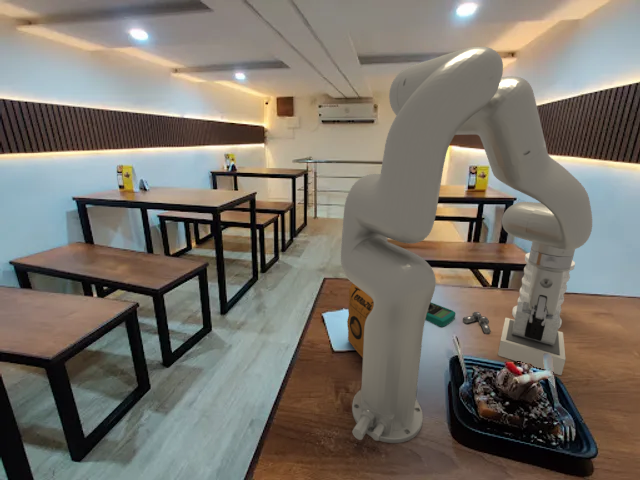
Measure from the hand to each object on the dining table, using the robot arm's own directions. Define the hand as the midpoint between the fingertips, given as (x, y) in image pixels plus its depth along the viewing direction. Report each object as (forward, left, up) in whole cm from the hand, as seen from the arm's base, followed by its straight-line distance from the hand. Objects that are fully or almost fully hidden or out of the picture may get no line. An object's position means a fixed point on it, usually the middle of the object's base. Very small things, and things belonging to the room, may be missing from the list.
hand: (533, 331), depth 73 cm
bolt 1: (+6, +14, -5) cm, 16 cm away
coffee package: (-21, +31, -6) cm, 38 cm away
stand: (0, 0, -5) cm, 5 cm away
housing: (0, 0, -1) cm, 1 cm away
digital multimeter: (+4, +25, -6) cm, 26 cm away
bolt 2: (+4, +10, -5) cm, 12 cm away
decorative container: (+18, -1, -6) cm, 19 cm away
